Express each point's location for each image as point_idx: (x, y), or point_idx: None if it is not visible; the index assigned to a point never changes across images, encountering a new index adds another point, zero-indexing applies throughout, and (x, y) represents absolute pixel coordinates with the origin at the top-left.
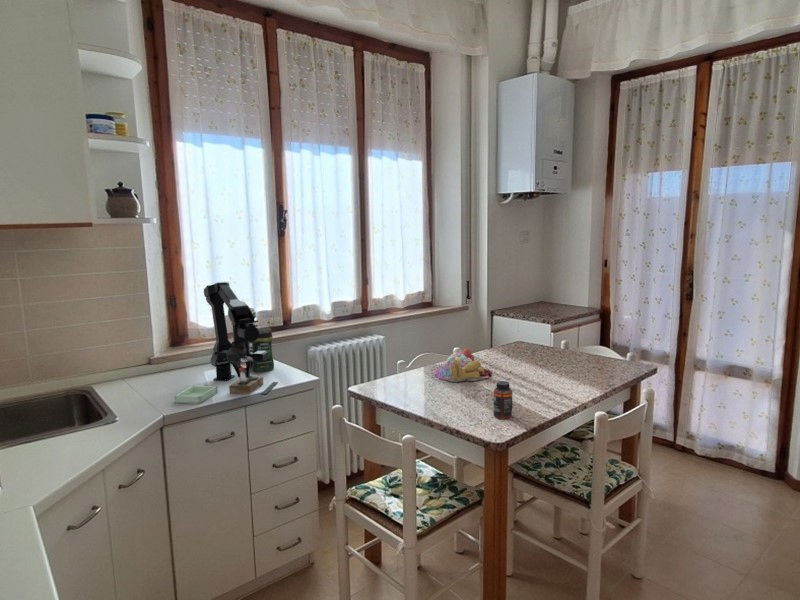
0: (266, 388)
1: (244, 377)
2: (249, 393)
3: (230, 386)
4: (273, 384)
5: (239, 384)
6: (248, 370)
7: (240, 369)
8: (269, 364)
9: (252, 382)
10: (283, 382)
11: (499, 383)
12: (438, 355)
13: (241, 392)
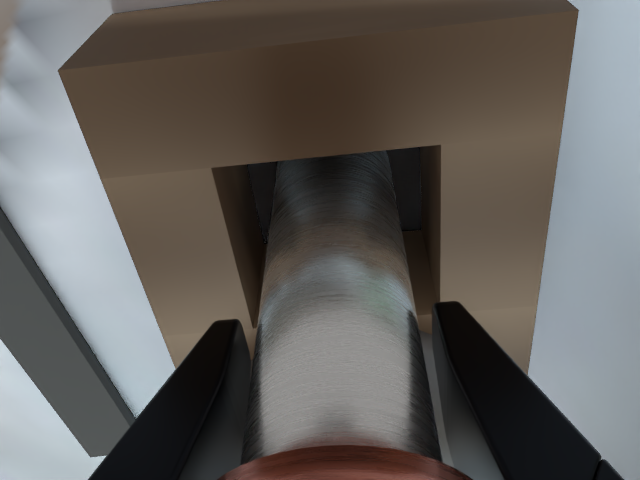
0: (24, 268)
1: (279, 299)
2: (112, 16)
3: (542, 7)
4: (69, 395)
5: (370, 141)
6: (100, 475)
7: (348, 467)
8: None
9: (187, 286)
10: (53, 465)
11: None
12: None
13: (275, 2)
